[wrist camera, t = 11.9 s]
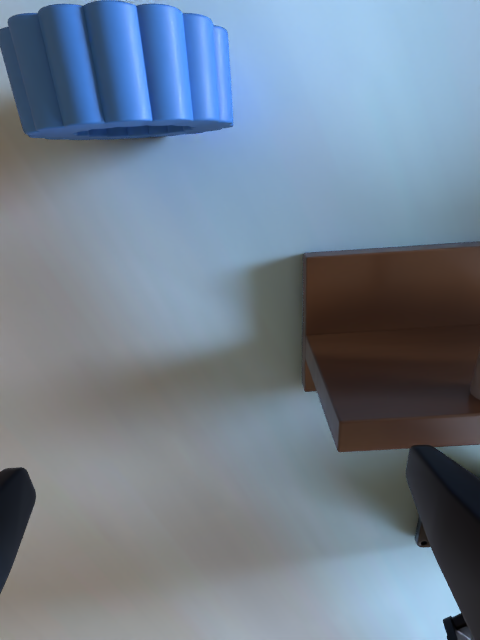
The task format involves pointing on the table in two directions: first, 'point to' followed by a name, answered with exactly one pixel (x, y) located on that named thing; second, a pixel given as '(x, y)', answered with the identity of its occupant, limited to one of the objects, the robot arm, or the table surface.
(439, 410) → the hook
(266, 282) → the table surface
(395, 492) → the table surface
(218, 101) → the tape roll
